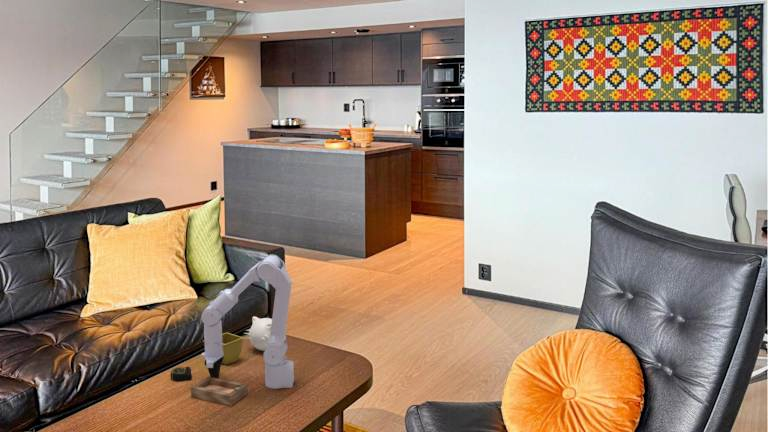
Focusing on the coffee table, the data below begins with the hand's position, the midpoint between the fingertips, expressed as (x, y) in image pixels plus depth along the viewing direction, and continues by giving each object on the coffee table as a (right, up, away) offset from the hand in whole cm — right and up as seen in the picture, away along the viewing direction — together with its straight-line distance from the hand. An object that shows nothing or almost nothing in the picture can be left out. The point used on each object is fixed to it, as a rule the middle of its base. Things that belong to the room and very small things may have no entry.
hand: (214, 379), depth 224 cm
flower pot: (0, +2, +19) cm, 19 cm away
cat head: (+12, +4, +31) cm, 33 cm away
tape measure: (-12, -1, +4) cm, 13 cm away
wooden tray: (+4, -3, -10) cm, 11 cm away
